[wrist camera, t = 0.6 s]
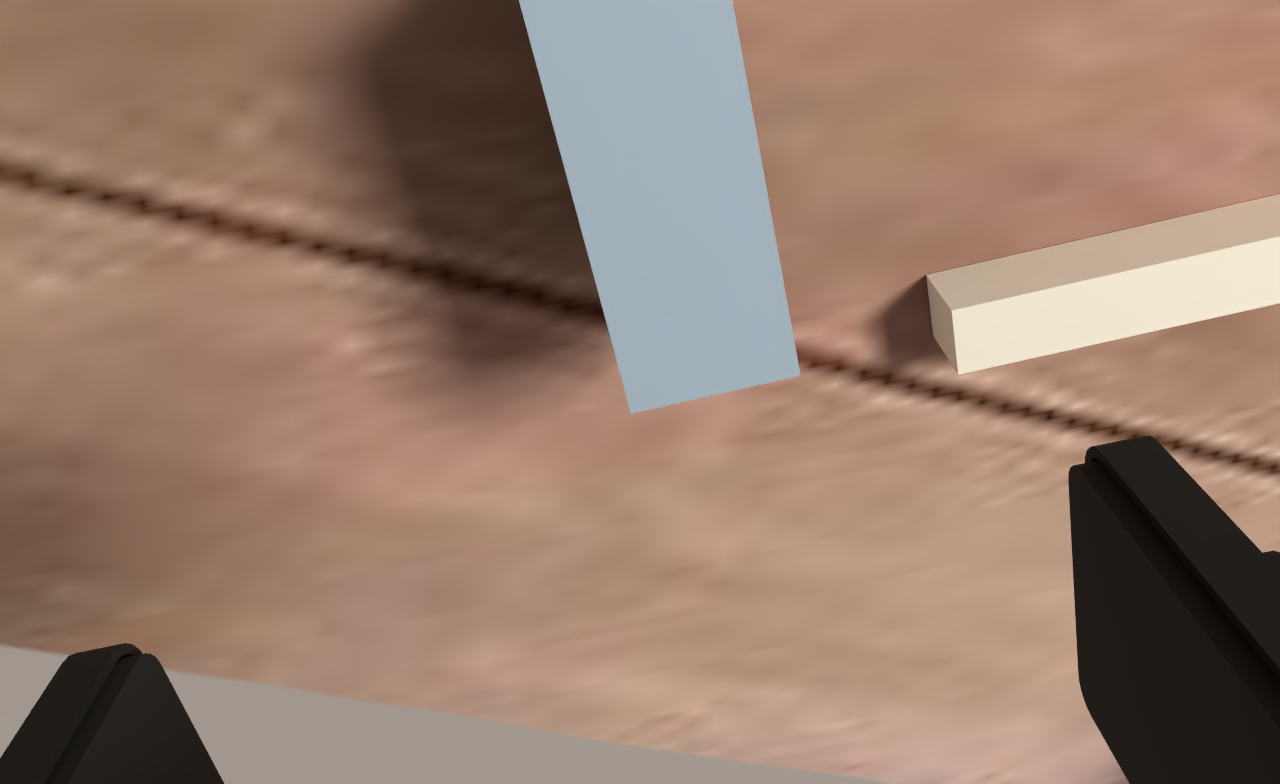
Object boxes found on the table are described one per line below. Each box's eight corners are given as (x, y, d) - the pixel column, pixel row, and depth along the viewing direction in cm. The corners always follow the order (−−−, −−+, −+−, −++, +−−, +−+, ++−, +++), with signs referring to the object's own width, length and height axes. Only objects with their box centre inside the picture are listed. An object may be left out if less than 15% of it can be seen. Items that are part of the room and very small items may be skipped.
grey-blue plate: (522, -107, 32) (500, -69, 23) (674, -147, 32) (710, -122, 23) (619, 268, 38) (631, 413, 29) (748, 238, 37) (800, 375, 29)
